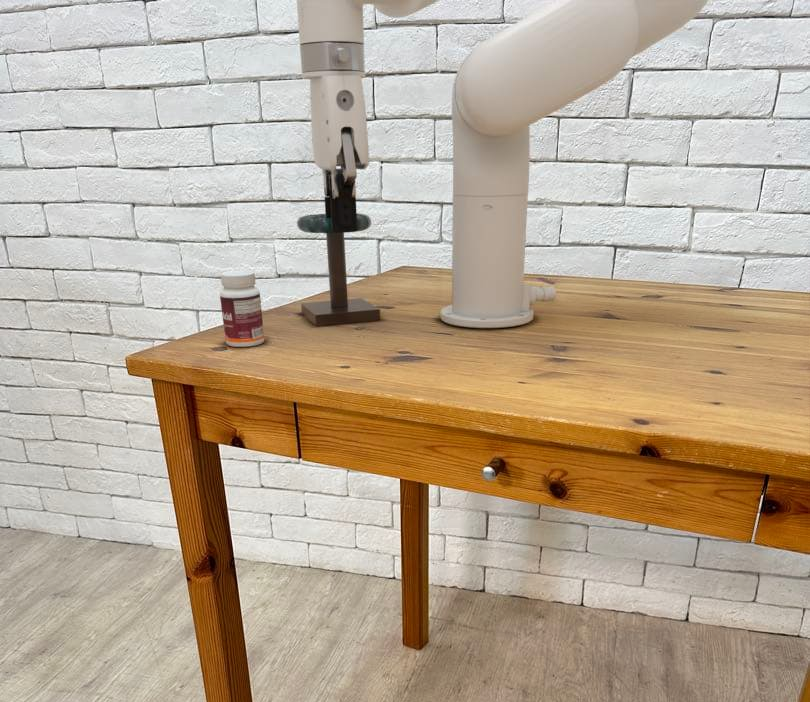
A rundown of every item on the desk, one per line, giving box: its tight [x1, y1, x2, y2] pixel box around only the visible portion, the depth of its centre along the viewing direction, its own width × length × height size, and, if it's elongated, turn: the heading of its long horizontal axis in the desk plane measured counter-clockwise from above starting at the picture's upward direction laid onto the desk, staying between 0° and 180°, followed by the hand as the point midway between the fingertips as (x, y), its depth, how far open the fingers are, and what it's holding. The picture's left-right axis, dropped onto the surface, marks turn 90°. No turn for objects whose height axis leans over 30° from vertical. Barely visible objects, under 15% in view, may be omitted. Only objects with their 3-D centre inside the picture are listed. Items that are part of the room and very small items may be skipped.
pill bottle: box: [219, 269, 265, 348], centre depth 93 cm, size 5×5×8 cm
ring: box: [296, 213, 372, 234], centre depth 102 cm, size 10×10×2 cm
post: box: [300, 233, 381, 327], centre depth 105 cm, size 9×9×12 cm
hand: (341, 229), depth 99 cm, fingers closed on ring, 2 cm apart
